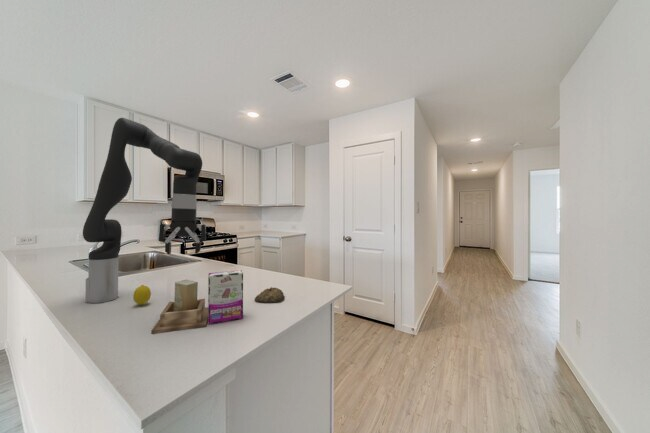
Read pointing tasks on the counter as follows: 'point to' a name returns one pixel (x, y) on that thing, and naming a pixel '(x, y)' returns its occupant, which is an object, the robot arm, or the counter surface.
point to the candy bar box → (225, 296)
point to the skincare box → (185, 295)
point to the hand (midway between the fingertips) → (183, 253)
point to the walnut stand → (181, 318)
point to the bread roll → (270, 296)
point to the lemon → (142, 295)
